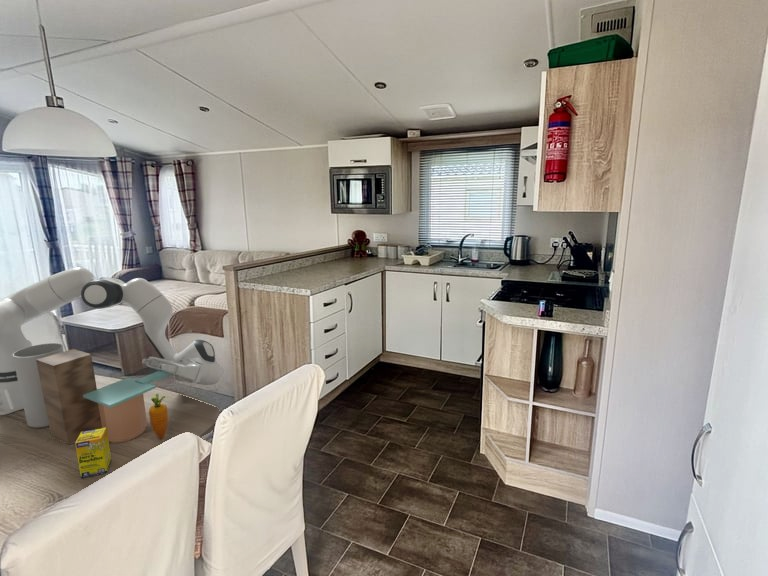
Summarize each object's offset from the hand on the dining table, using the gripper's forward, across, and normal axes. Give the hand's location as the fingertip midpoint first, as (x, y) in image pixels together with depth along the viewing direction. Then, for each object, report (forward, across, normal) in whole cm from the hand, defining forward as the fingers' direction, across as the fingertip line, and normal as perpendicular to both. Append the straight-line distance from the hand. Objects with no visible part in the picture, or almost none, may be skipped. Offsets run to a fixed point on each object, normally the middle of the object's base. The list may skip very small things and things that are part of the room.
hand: (152, 363), depth 132 cm
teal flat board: (+3, 0, +8) cm, 8 cm away
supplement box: (+12, +11, +30) cm, 34 cm away
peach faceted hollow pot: (0, 0, +22) cm, 22 cm away
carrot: (-3, +14, +21) cm, 25 cm away
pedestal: (+6, -14, +26) cm, 30 cm away
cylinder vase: (+6, -31, +26) cm, 41 cm away
